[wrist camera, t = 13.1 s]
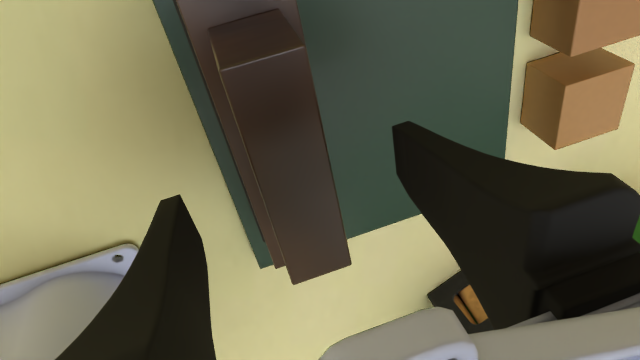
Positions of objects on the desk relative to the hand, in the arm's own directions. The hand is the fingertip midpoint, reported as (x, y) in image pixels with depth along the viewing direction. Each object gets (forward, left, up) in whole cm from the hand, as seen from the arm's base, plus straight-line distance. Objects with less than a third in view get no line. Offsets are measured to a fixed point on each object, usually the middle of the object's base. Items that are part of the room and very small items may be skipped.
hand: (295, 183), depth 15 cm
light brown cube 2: (+16, 0, -8) cm, 17 cm away
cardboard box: (+16, -5, -7) cm, 18 cm away
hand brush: (0, 0, -6) cm, 6 cm away
